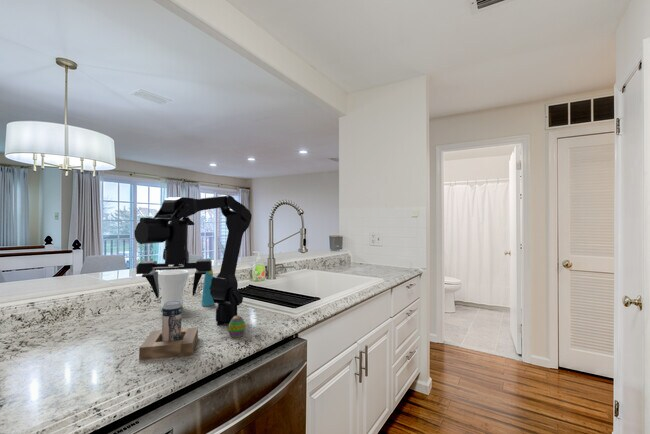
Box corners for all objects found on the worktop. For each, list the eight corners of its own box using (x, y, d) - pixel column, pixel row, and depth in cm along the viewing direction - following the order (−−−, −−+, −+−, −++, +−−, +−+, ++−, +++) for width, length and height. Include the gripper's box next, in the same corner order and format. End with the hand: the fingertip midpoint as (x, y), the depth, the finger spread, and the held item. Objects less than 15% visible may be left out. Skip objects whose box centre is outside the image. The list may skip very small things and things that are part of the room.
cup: (193, 307, 120) (194, 271, 121) (166, 314, 111) (167, 275, 111) (177, 303, 126) (178, 269, 127) (149, 309, 117) (150, 272, 117)
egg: (240, 339, 89) (241, 318, 89) (225, 338, 90) (225, 317, 90) (247, 333, 94) (248, 313, 94) (233, 332, 95) (233, 312, 95)
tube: (215, 306, 123) (216, 258, 123) (202, 307, 121) (203, 258, 121) (213, 302, 130) (214, 256, 130) (201, 303, 127) (202, 256, 128)
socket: (197, 337, 90) (197, 327, 90) (192, 354, 78) (192, 342, 78) (151, 341, 86) (152, 330, 86) (139, 360, 75) (139, 347, 75)
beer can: (173, 352, 80) (174, 305, 80) (157, 350, 80) (158, 304, 81) (184, 345, 84) (185, 301, 84) (169, 343, 85) (170, 300, 85)
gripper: (212, 239, 97) (212, 288, 97) (146, 240, 92) (146, 292, 92) (210, 241, 87) (210, 297, 87) (135, 243, 81) (135, 302, 81)
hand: (176, 296), depth 87 cm, fingers open, 9 cm apart
